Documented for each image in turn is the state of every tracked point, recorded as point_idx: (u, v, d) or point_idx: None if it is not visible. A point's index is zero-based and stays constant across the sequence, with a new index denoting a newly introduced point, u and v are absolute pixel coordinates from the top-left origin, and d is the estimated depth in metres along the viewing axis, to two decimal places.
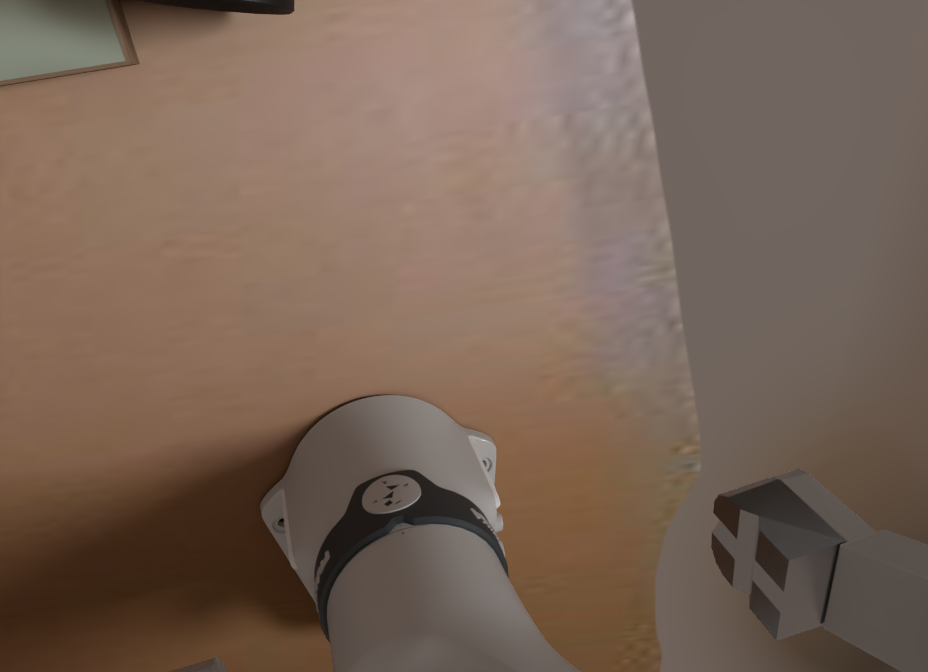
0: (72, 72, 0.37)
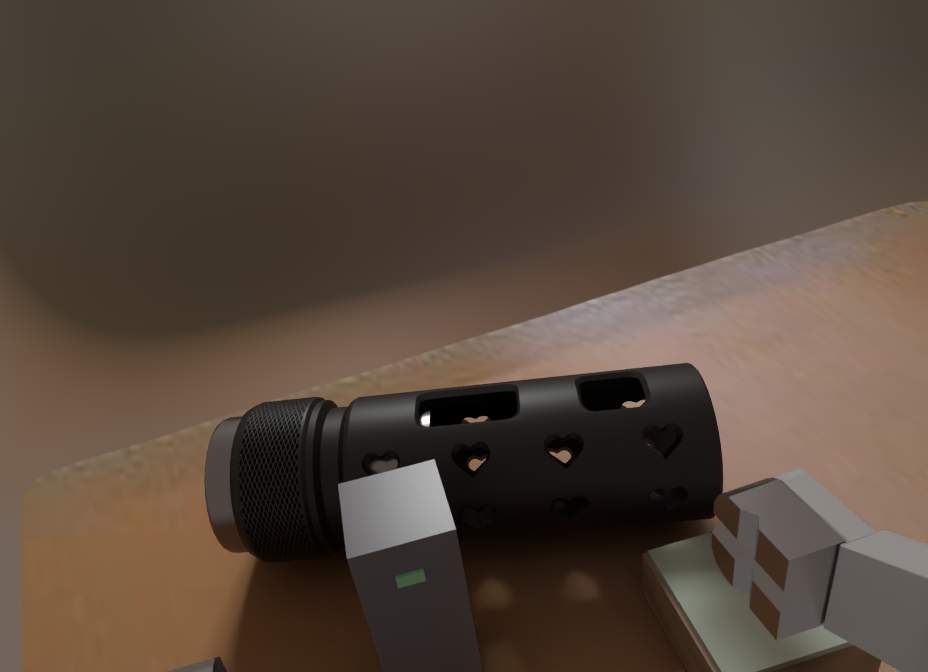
0: None
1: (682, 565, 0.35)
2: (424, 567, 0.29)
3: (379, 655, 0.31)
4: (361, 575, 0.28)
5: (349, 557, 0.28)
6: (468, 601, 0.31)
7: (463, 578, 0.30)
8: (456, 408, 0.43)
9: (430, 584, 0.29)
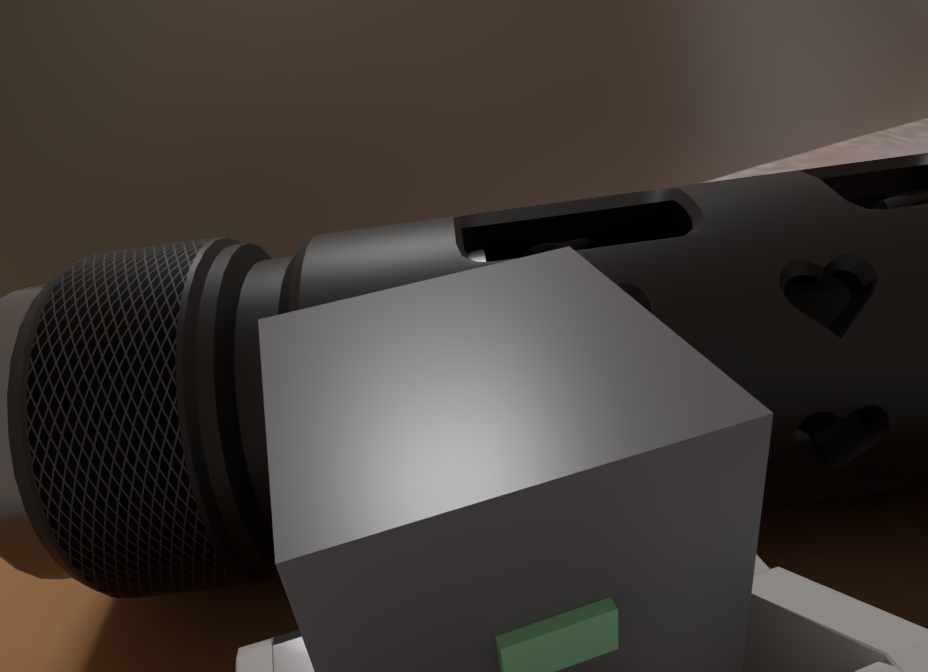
0: None
1: None
2: (617, 593, 0.07)
3: None
4: (349, 640, 0.06)
5: (289, 555, 0.06)
6: None
7: (740, 630, 0.08)
8: None
9: (623, 661, 0.07)
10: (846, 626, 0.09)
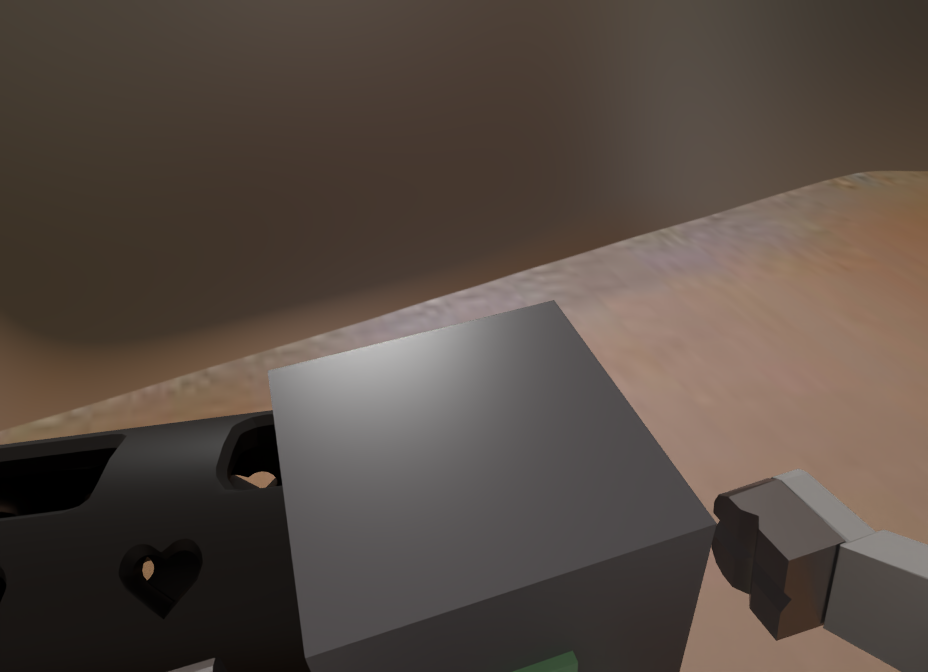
0: None
1: None
2: (578, 648, 0.08)
3: None
4: None
5: (316, 650, 0.07)
6: None
7: (677, 660, 0.09)
8: (61, 479, 0.23)
9: None
10: None
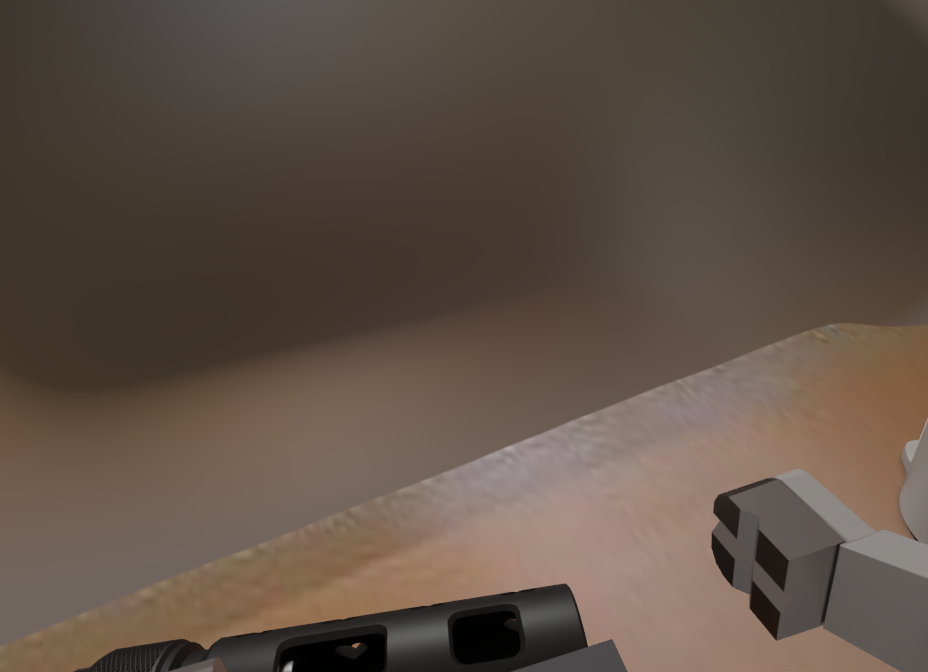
0: None
1: None
2: None
3: None
4: None
5: None
6: None
7: None
8: None
9: None
10: None
